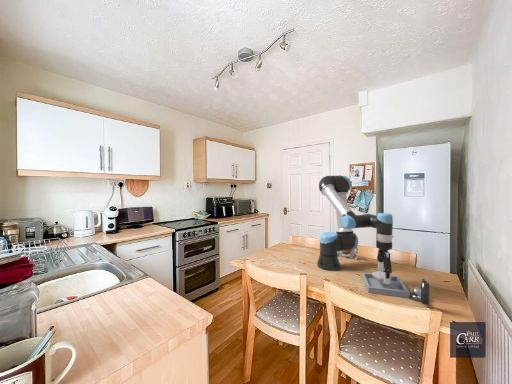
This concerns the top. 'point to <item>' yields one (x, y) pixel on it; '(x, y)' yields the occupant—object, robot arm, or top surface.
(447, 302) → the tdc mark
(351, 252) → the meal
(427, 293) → the crank
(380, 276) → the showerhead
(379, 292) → the tray
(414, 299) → the crank base
